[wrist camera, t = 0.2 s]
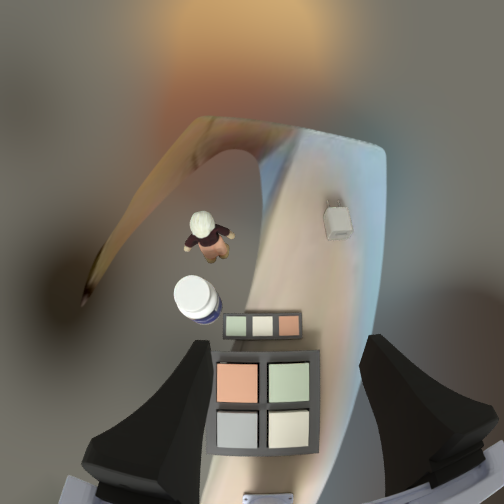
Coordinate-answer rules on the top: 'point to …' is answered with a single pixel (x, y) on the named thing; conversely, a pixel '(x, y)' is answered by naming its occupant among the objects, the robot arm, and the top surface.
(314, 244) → the top surface
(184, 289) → the pill bottle
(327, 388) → the top surface
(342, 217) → the usb wall charger
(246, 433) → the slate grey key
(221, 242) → the grandmother figurine
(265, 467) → the top surface
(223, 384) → the terracotta key
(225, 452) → the keyguard pad
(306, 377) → the sage key
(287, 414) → the ivory key
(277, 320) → the strip
